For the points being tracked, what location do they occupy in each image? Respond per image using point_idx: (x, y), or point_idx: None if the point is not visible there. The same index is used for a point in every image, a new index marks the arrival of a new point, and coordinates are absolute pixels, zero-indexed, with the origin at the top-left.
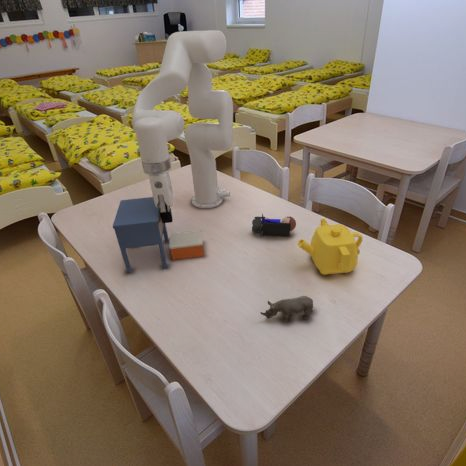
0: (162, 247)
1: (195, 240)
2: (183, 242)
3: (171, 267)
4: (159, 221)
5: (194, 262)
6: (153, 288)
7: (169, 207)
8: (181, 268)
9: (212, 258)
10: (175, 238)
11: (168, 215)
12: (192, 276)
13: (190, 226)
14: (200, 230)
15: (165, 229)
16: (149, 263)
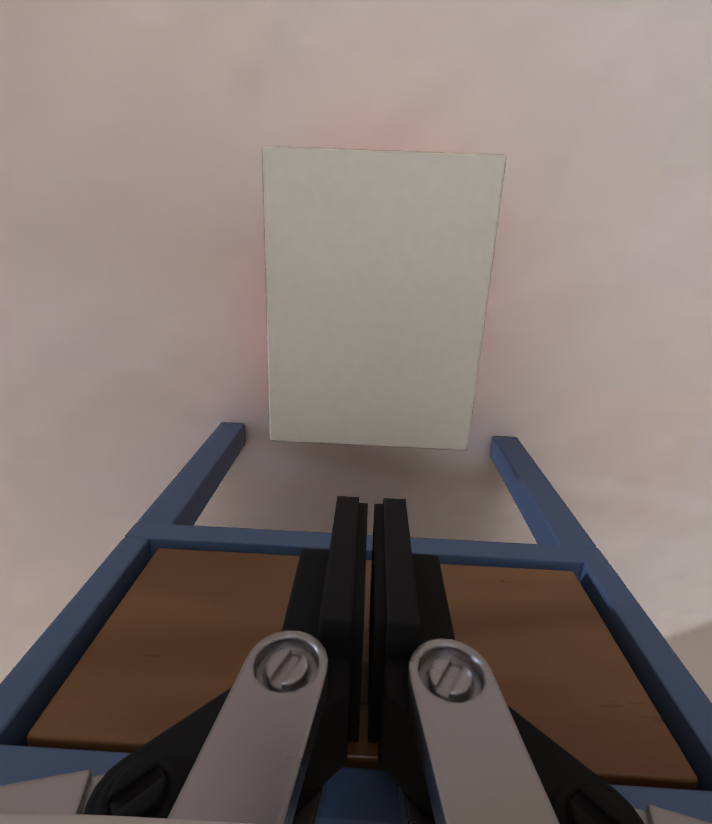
0: (582, 529)
1: (431, 225)
2: (432, 338)
3: (517, 411)
4: (506, 689)
5: (518, 259)
6: (666, 506)
7: (326, 657)
8: (551, 351)
9: (518, 107)
10: (352, 401)
11: (447, 613)
12: (664, 284)
13: (45, 257)
14: (267, 157)
15: (209, 475)
16: (436, 527)
